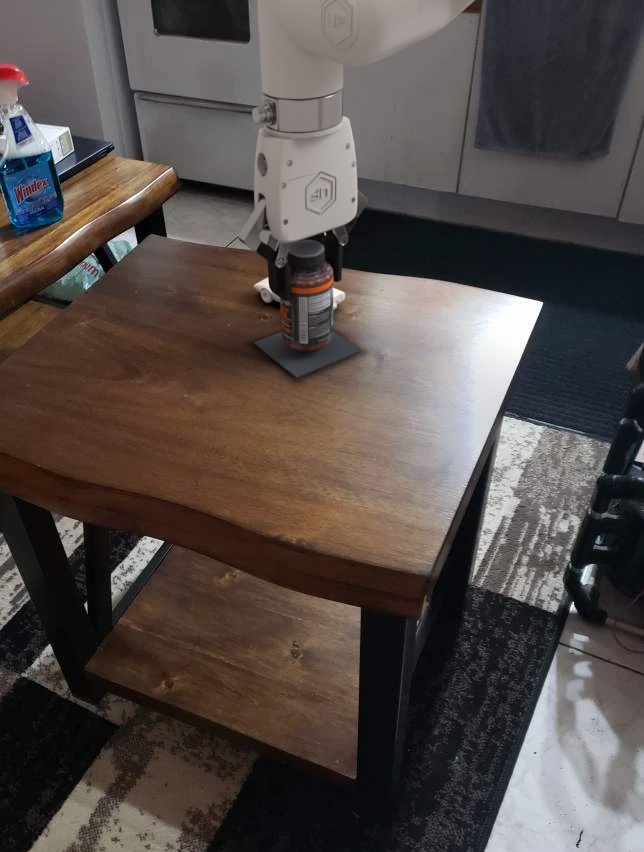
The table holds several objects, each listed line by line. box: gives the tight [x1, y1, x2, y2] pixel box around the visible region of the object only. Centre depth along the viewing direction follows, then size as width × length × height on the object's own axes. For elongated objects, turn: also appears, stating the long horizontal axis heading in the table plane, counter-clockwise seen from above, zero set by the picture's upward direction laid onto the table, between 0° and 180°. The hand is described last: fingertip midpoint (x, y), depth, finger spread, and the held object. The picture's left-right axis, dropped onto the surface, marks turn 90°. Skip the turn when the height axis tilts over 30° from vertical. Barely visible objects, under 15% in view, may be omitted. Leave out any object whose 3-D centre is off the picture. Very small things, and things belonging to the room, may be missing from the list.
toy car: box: [253, 277, 346, 311], centre depth 94 cm, size 6×12×3 cm, turn 47°
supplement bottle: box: [279, 239, 334, 351], centre depth 83 cm, size 6×6×11 cm
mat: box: [253, 330, 361, 379], centre depth 88 cm, size 9×9×1 cm
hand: (306, 284), depth 82 cm, fingers closed on supplement bottle, 6 cm apart
